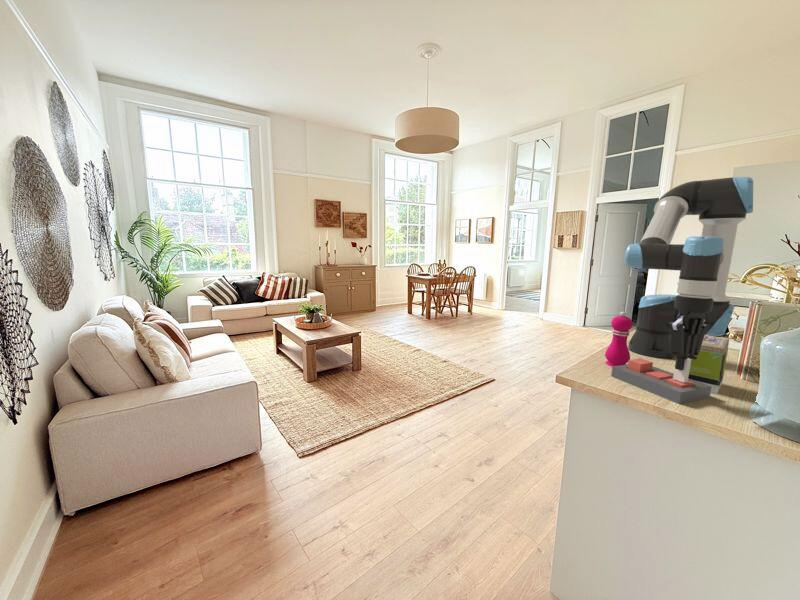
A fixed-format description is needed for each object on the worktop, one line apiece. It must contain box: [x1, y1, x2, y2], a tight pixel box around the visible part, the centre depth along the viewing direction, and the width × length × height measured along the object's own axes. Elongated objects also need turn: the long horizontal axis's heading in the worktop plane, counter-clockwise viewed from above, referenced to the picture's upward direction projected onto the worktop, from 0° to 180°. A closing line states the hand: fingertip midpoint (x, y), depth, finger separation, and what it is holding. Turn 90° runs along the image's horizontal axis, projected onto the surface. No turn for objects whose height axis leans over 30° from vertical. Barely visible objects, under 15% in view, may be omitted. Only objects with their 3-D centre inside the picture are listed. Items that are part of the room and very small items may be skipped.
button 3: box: [666, 378, 694, 388], centre depth 91 cm, size 5×4×4 cm
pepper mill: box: [604, 311, 633, 368], centre depth 112 cm, size 7×7×20 cm
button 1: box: [627, 357, 654, 373], centre depth 101 cm, size 5×4×4 cm
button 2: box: [646, 371, 672, 380], centre depth 96 cm, size 5×4×4 cm
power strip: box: [610, 363, 712, 405], centre depth 99 cm, size 13×26×4 cm, turn 19°
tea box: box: [688, 335, 730, 395], centre depth 99 cm, size 15×10×15 cm
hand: (680, 380), depth 91 cm, fingers closed
